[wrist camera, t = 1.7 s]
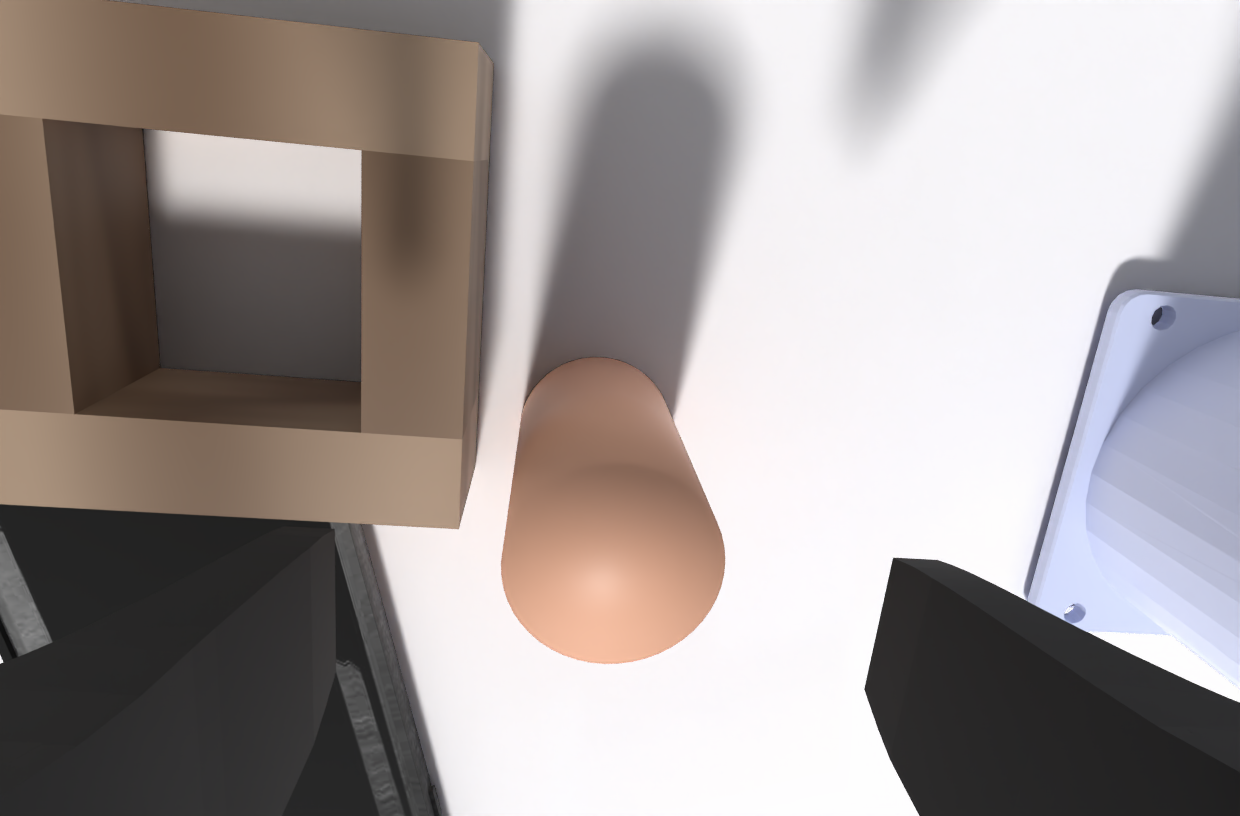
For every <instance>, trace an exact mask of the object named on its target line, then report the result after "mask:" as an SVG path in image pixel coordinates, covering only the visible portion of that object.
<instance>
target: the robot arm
mask: <svg viewBox="0 0 1240 816" xmlns="http://www.w3.org/2000/svg"><path fill="white" fill-rule="evenodd" d="M1159 307H1161V308H1162V316H1161V318H1160V320H1159V321H1158V322H1157V323H1156V324H1154V325H1152V324H1151V321H1152V315H1153V314H1154V312H1155V310H1157V309H1158V308H1159ZM1072 604H1075V606H1074V608H1073V610H1071V611H1070V612H1069V613H1066V614H1064V613H1065V611H1066V609H1067V608H1068V607H1069V606H1071V605H1072ZM1088 632H1103V633H1125V634H1147V635H1169V636H1172V637H1174V638H1175V639H1176V640H1177V641H1179V642H1180V643H1181V644H1183V645H1184V646H1185V647H1186V648H1188V649H1189V650H1190V651H1191V652H1193V653H1194V654H1195V655H1196V656H1198V657H1199V658H1200V659H1202V660H1203V661H1204V662H1205V663H1207V664H1208V665H1209V666H1210V667H1212V668H1213V669H1214V670H1216V671H1217V672H1218V673H1219V674H1221V675H1222V676H1223V677H1224V678H1226V679H1227V680H1228V681H1229V682H1231V683H1232V684H1233V685H1235V686H1236V687H1237V688H1238V689H1240V299H1239V298H1228V297H1217V296H1206V295H1195V294H1184V293H1173V292H1162V291H1151V290H1140V289H1134V290H1127V291H1125V292H1123V293H1121V294H1119V295H1118V296H1117V297H1116V298H1115V299H1114V300H1113V301H1112V303H1111V305H1110V307H1109V309H1108V312H1107V315H1106V319H1105V323H1104V326H1103V330H1102V333H1101V337H1100V341H1099V344H1098V348H1097V351H1096V355H1095V359H1094V362H1093V366H1092V369H1091V373H1090V377H1089V380H1088V384H1087V387H1086V391H1085V395H1084V398H1083V402H1082V405H1081V409H1080V413H1079V416H1078V420H1077V423H1076V427H1075V430H1074V434H1073V438H1072V441H1071V445H1070V448H1069V452H1068V456H1067V459H1066V463H1065V466H1064V470H1063V474H1062V477H1061V481H1060V484H1059V488H1058V492H1057V495H1056V499H1055V502H1054V506H1053V510H1052V513H1051V517H1050V520H1049V524H1048V527H1047V531H1046V535H1045V538H1044V542H1043V545H1042V549H1041V553H1040V556H1039V560H1038V563H1037V567H1036V571H1035V574H1034V578H1033V581H1032V585H1031V589H1030V592H1029V596H1028V599H1027V601H1026V600H1024V599H1022V598H1020V597H1018V596H1016V595H1014V594H1012V593H1010V592H1008V591H1006V590H1004V589H1002V588H1000V587H998V586H996V585H994V584H992V583H990V582H988V581H986V580H984V579H982V578H980V577H978V576H976V575H974V574H971V573H969V572H967V571H965V570H962V569H960V568H958V567H955V566H953V565H950V564H947V563H944V562H942V561H939V560H926V559H907V558H893V561H892V566H891V570H890V575H889V579H888V584H887V589H886V593H885V598H884V602H883V607H882V611H881V616H880V621H879V625H878V630H877V634H876V639H875V643H874V648H873V653H872V657H871V662H870V666H869V671H868V675H867V680H866V685H865V692H866V695H867V698H868V701H869V704H870V707H871V710H872V713H873V715H874V718H875V721H876V724H877V727H878V730H879V732H880V735H881V737H882V740H883V742H884V745H885V748H886V750H887V753H888V755H889V758H890V760H891V762H892V764H893V766H894V768H895V770H896V772H897V774H898V776H899V778H900V780H901V781H902V783H903V785H904V787H905V789H906V791H907V793H908V795H909V797H910V798H911V800H912V802H913V804H914V806H915V808H916V810H917V812H918V814H919V816H1240V703H1239V702H1237V701H1234V700H1232V699H1229V698H1227V697H1224V696H1222V695H1220V694H1217V693H1215V692H1213V691H1210V690H1208V689H1206V688H1204V687H1201V686H1199V685H1197V684H1194V683H1192V682H1190V681H1188V680H1185V679H1183V678H1181V677H1179V676H1177V675H1175V674H1173V673H1171V672H1168V671H1166V670H1164V669H1162V668H1160V667H1158V666H1156V665H1154V664H1151V663H1149V662H1147V661H1145V660H1143V659H1141V658H1139V657H1136V656H1134V655H1132V654H1130V653H1128V652H1126V651H1124V650H1122V649H1120V648H1118V647H1116V646H1114V645H1112V644H1110V643H1108V642H1106V641H1104V640H1102V639H1100V638H1098V637H1096V636H1094V635H1092V634H1090V633H1088ZM335 673H336V612H335V529H327V528H308V527H288V526H283V527H281V528H278V529H276V530H273V531H271V532H269V533H267V534H265V535H263V536H261V537H259V538H257V539H255V540H253V541H251V542H249V543H247V544H246V545H244V546H242V547H240V548H238V549H236V550H234V551H233V552H231V553H229V554H227V555H225V556H223V557H222V558H220V559H218V560H216V561H214V562H212V563H211V564H209V565H207V566H205V567H203V568H201V569H199V570H198V571H196V572H194V573H192V574H190V575H188V576H186V577H185V578H183V579H181V580H179V581H177V582H175V583H173V584H172V585H170V586H168V587H166V588H164V589H162V590H160V591H158V592H156V593H154V594H152V595H150V596H148V597H146V598H144V599H142V600H140V601H138V602H136V603H134V604H132V605H130V606H128V607H126V608H124V609H122V610H120V611H118V612H115V613H113V614H111V615H109V616H107V617H105V618H103V619H101V620H99V621H97V622H95V623H93V624H91V625H89V626H87V627H85V628H83V629H81V630H79V631H77V632H74V633H72V634H70V635H68V636H65V637H63V638H61V639H59V640H57V641H54V642H52V643H50V644H47V645H45V646H43V647H40V648H38V649H36V650H33V651H31V652H29V653H26V654H24V655H21V656H19V657H16V658H14V659H11V660H9V661H6V662H4V663H1V664H0V816H282V814H283V812H284V810H285V808H286V806H287V803H288V801H289V799H290V797H291V794H292V792H293V790H294V788H295V786H296V783H297V781H298V779H299V777H300V774H301V772H302V770H303V768H304V766H305V763H306V761H307V759H308V757H309V754H310V752H311V750H312V747H313V745H314V742H315V739H316V736H317V733H318V730H319V727H320V723H321V720H322V717H323V714H324V711H325V707H326V704H327V700H328V697H329V694H330V690H331V687H332V683H333V680H334V677H335Z"/></svg>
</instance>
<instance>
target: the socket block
mask: <svg viewBox="0 0 1240 816" xmlns="http://www.w3.org/2000/svg"><path fill="white" fill-rule="evenodd" d="M493 71H494V63H493V62H492V60H491V59H490V58H489V56H488V55H487V53H486V52H485V51H484V49H483V48H482V46H481V45H480V44H479V42H470V41H461V40H453V39H444V38H435V37H426V36H417V35H409V34H400V33H391V32H382V31H373V30H364V29H356V28H347V27H338V26H329V25H320V24H312V23H303V22H294V21H285V20H276V19H268V18H259V17H250V16H241V15H232V14H223V13H215V12H206V11H197V10H188V9H179V8H171V7H162V6H153V5H144V4H135V3H127V2H118V1H109V0H0V504H6V505H24V506H42V507H61V508H79V509H98V510H116V511H135V512H153V513H172V514H190V515H209V516H227V517H245V518H264V519H282V520H301V521H319V522H338V523H356V524H375V525H393V526H412V527H430V528H448V529H459V526H460V522H461V518H462V515H463V511H464V507H465V503H466V499H467V496H468V492H469V488H470V484H471V481H472V477H473V473H474V469H475V459H476V438H477V416H478V394H479V373H480V351H481V330H482V308H483V287H484V265H485V243H486V222H487V200H488V179H489V157H490V136H491V114H492V92H493ZM142 128H143V129H153V130H164V131H174V132H184V133H194V134H204V135H214V136H224V137H234V138H244V139H254V140H265V141H275V142H285V143H295V144H305V145H315V146H325V147H335V148H345V149H355V150H362V204H361V382H352V381H338V380H324V379H310V378H296V377H282V376H268V375H254V374H239V373H225V372H211V371H197V370H183V369H169V368H160V358H159V345H158V331H157V318H156V305H155V291H154V278H153V264H152V251H151V238H150V224H149V211H148V197H147V184H146V171H145V157H144V144H143V131H142Z"/></svg>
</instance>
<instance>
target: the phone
mask: <svg viewBox="0 0 1240 816" xmlns="http://www.w3.org/2000/svg"><path fill="white" fill-rule="evenodd" d="M283 526H288V527H308V528H327V529H335V612H336V673H335V677H334V680H333V683H332V687H331V690H330V694H329V697H328V700H327V704H326V707H325V711H324V714H323V717H322V720H321V723H320V727H319V730H318V733H317V736H316V739H315V742H314V745H313V747H312V750H311V752H310V754H309V757H308V759H307V761H306V763H305V766H304V768H303V770H302V772H301V774H300V777H299V779H298V781H297V783H296V786H295V788H294V790H293V792H292V794H291V797H290V799H289V801H288V803H287V806H286V808H285V810H284V812H283V814H282V816H441V808H440V805H439V801H438V797H437V793H436V790H435V786H434V785H433V786H432V785H431V782H430V778H429V774H428V770H427V767H426V763H425V759H424V756H423V752H422V748H421V744H420V741H419V737H418V733H417V730H416V726H415V722H414V718H413V715H412V711H411V707H410V704H409V700H408V696H407V692H406V689H405V685H404V681H403V678H402V674H401V670H400V666H399V663H398V659H397V655H396V652H395V648H394V644H393V640H392V637H391V633H390V629H389V626H388V622H387V618H386V614H385V611H384V607H383V603H382V600H381V596H380V592H379V588H378V585H377V581H376V577H375V574H374V570H373V566H372V562H371V559H370V555H369V551H368V548H367V544H366V540H365V536H364V533H363V529H362V525H361V524H356V523H338V522H319V521H301V520H282V519H264V518H245V517H227V516H209V515H190V514H172V513H153V512H135V511H116V510H98V509H79V508H61V507H42V506H24V505H6V504H0V655H1V657H2V660H3V662H6V661H9V660H11V659H14V658H16V657H19V656H21V655H24V654H26V653H29V652H31V651H33V650H36V649H38V648H40V647H43V646H45V645H47V644H50V643H52V642H54V641H57V640H59V639H61V638H63V637H65V636H68V635H70V634H72V633H74V632H77V631H79V630H81V629H83V628H85V627H87V626H89V625H91V624H93V623H95V622H97V621H99V620H101V619H103V618H105V617H107V616H109V615H111V614H113V613H115V612H118V611H120V610H122V609H124V608H126V607H128V606H130V605H132V604H134V603H136V602H138V601H140V600H142V599H144V598H146V597H148V596H150V595H152V594H154V593H156V592H158V591H160V590H162V589H164V588H166V587H168V586H170V585H172V584H173V583H175V582H177V581H179V580H181V579H183V578H185V577H186V576H188V575H190V574H192V573H194V572H196V571H198V570H199V569H201V568H203V567H205V566H207V565H209V564H211V563H212V562H214V561H216V560H218V559H220V558H222V557H223V556H225V555H227V554H229V553H231V552H233V551H234V550H236V549H238V548H240V547H242V546H244V545H246V544H247V543H249V542H251V541H253V540H255V539H257V538H259V537H261V536H263V535H265V534H267V533H269V532H271V531H273V530H276V529H278V528H281V527H283Z"/></svg>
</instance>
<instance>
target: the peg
mask: <svg viewBox="0 0 1240 816" xmlns="http://www.w3.org/2000/svg"><path fill="white" fill-rule="evenodd" d="M724 569H725V550H724V543H723V539H722V534H721V532H720V529H719V526H718V524H717V521H716V519H715V516H714V514H713V512H712V509H711V507H710V505H709V502H708V500H707V498H706V495H705V493H704V491H703V488H702V486H701V484H700V482H699V479H698V477H697V475H696V472H695V470H694V468H693V465H692V463H691V461H690V458H689V456H688V454H687V451H686V449H685V447H684V444H683V442H682V440H681V437H680V435H679V433H678V430H677V428H676V426H675V423H674V421H673V419H672V416H671V414H670V412H669V410H668V407H667V405H666V403H665V400H664V398H663V396H662V394H661V393H660V391H659V389H658V388H657V387H656V385H655V384H654V383H653V382H652V381H651V380H650V379H649V378H648V377H647V376H646V375H645V374H644V373H642V372H641V371H640V370H638V369H637V368H635V367H633V366H632V365H629V364H627V363H625V362H622V361H619V360H615V359H611V358H604V357H589V358H581V359H577V360H573V361H570V362H568V363H565V364H563V365H561V366H559V367H557V368H555V369H554V370H552V371H551V372H550V373H548V374H547V375H546V376H545V377H544V378H542V379H541V380H540V381H539V382H538V384H537V385H536V386H535V387H534V389H533V390H532V392H531V393H530V395H529V397H528V399H527V401H526V403H525V405H524V409H523V412H522V416H521V423H520V430H519V437H518V445H517V452H516V459H515V466H514V473H513V480H512V488H511V495H510V502H509V509H508V516H507V524H506V531H505V538H504V545H503V552H502V560H501V575H502V582H503V588H504V591H505V594H506V597H507V600H508V602H509V605H510V607H511V609H512V611H513V613H514V614H515V616H516V617H517V618H518V620H519V621H520V623H521V624H522V625H523V626H524V627H525V629H526V630H527V631H528V632H529V633H530V634H531V635H532V636H534V637H535V638H536V639H537V640H538V641H540V642H541V643H543V644H544V645H546V646H547V647H549V648H550V649H552V650H554V651H556V652H558V653H560V654H562V655H565V656H568V657H571V658H574V659H577V660H581V661H586V662H591V663H602V664H618V663H626V662H633V661H637V660H641V659H645V658H648V657H651V656H653V655H656V654H659V653H661V652H663V651H665V650H667V649H669V648H671V647H672V646H674V645H675V644H677V643H678V642H680V641H682V640H683V639H684V638H685V637H687V636H688V635H689V634H690V633H691V632H692V631H694V630H695V628H696V627H697V626H698V625H699V624H700V623H701V622H702V621H703V620H704V618H705V617H706V615H707V614H708V613H709V611H710V610H711V608H712V606H713V604H714V602H715V600H716V599H717V596H718V593H719V591H720V588H721V585H722V581H723V576H724Z"/></svg>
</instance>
